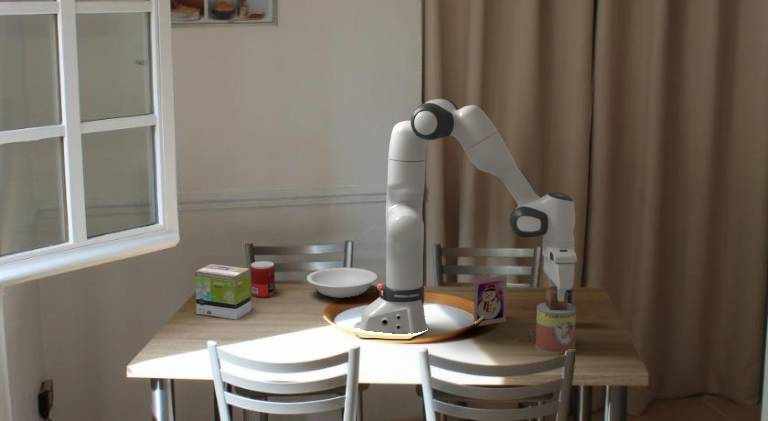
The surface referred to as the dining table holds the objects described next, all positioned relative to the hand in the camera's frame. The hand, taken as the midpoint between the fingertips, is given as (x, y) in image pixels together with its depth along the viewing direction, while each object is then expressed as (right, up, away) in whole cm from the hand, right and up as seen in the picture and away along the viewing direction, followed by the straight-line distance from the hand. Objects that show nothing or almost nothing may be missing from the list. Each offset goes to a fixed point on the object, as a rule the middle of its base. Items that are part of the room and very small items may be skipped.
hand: (556, 296), depth 296 cm
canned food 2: (0, -15, +3) cm, 15 cm away
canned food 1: (-91, -4, +56) cm, 107 cm away
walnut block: (0, -3, +1) cm, 3 cm away
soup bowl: (-64, -4, +55) cm, 84 cm away
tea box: (-101, -9, +36) cm, 108 cm away
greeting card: (-18, -10, +26) cm, 33 cm away
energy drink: (+5, -11, +22) cm, 25 cm away
